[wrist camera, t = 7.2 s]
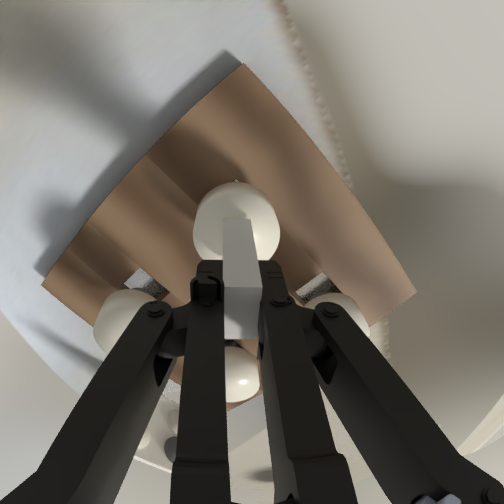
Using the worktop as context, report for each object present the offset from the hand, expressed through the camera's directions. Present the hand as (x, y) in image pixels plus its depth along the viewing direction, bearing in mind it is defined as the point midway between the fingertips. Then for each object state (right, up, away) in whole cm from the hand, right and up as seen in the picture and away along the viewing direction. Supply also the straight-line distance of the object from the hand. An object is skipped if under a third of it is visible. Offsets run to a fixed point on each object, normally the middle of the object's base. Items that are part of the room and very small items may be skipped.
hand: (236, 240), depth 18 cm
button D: (-1, -10, +11) cm, 15 cm away
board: (-1, -3, +8) cm, 9 cm away
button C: (-8, -4, +5) cm, 10 cm away
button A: (0, +2, +4) cm, 5 cm away
